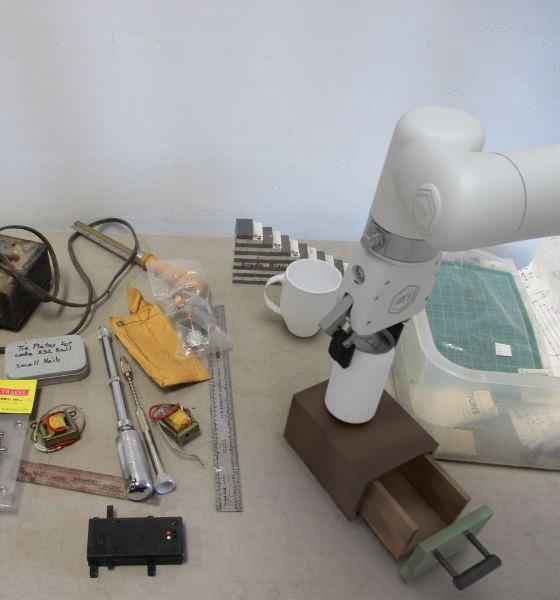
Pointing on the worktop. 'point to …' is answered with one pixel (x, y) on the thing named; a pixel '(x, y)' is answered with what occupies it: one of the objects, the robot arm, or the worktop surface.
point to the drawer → (426, 520)
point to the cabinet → (352, 444)
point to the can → (361, 378)
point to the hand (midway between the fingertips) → (361, 349)
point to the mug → (306, 294)
